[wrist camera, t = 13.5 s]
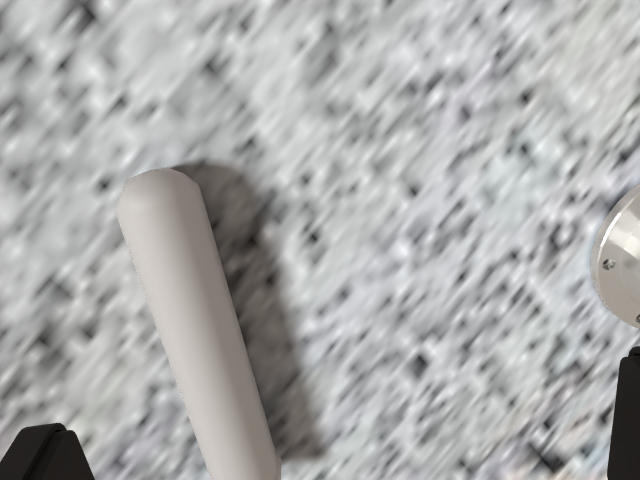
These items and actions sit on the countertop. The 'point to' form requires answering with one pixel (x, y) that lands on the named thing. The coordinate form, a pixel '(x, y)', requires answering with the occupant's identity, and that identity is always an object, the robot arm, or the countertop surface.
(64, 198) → the countertop surface
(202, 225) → the tube
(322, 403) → the countertop surface
